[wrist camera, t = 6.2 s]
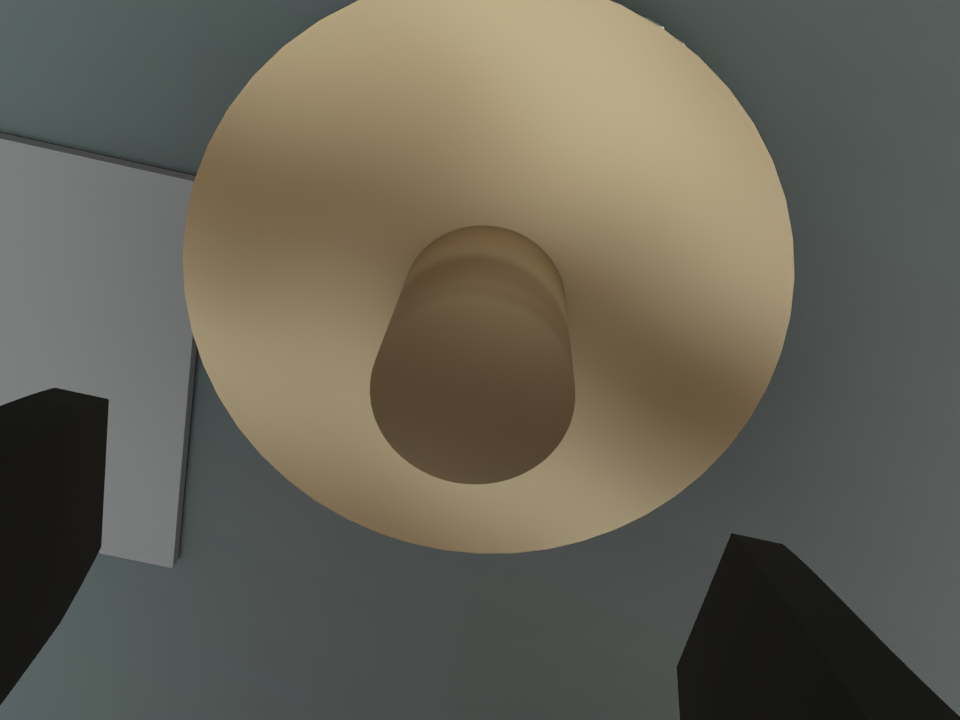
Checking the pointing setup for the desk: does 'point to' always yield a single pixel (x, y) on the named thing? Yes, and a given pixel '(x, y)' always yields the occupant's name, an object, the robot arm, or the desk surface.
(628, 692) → the desk surface
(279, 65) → the lid
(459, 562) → the desk surface
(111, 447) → the mat
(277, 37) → the desk surface
